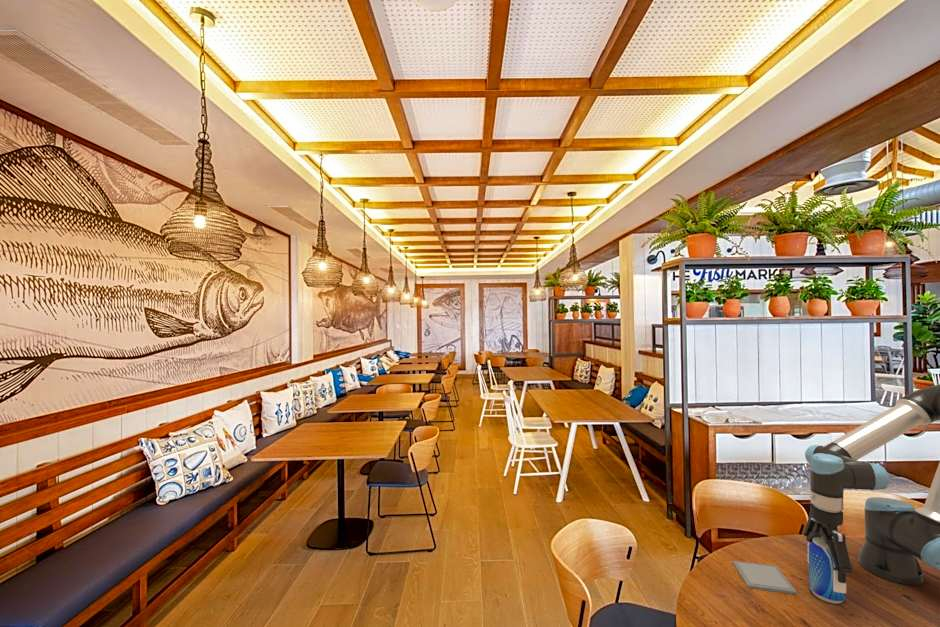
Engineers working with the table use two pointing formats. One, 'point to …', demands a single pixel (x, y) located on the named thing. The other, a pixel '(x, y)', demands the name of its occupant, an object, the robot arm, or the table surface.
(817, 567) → the beer can
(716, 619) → the table surface
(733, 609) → the table surface
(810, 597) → the table surface
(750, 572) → the plate
